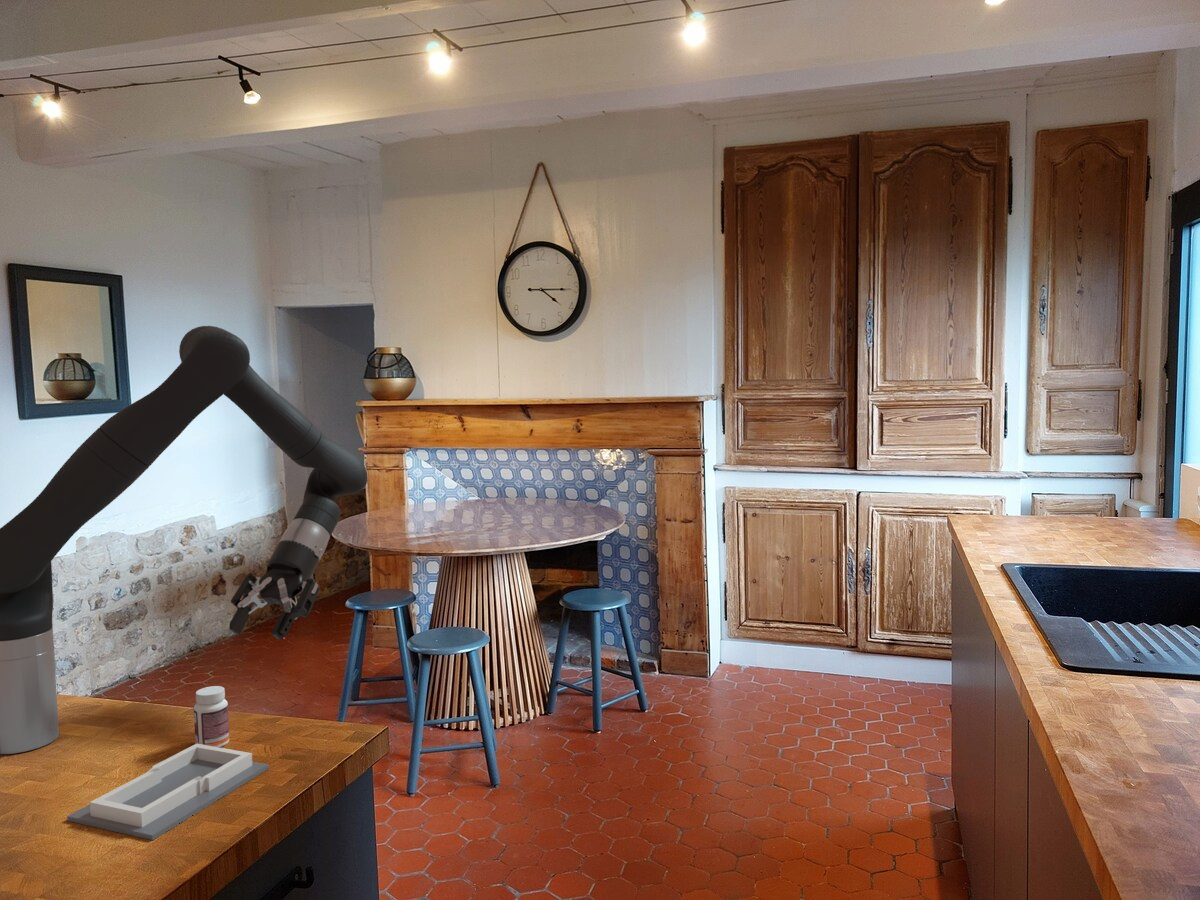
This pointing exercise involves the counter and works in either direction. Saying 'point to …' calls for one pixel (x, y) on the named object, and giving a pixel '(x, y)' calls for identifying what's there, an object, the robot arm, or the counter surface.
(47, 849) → the counter surface
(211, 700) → the pill bottle
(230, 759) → the walled tray base
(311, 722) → the counter surface
